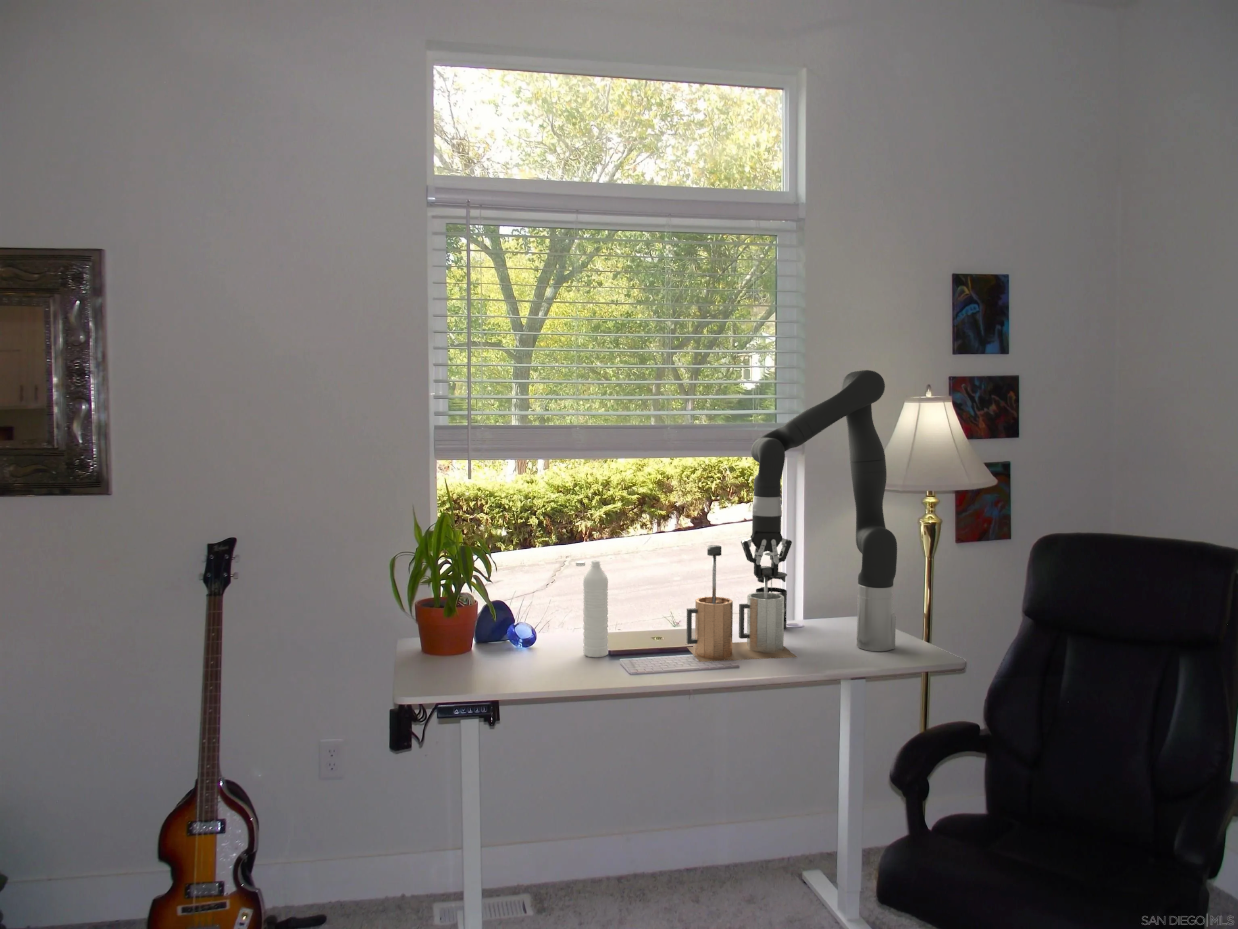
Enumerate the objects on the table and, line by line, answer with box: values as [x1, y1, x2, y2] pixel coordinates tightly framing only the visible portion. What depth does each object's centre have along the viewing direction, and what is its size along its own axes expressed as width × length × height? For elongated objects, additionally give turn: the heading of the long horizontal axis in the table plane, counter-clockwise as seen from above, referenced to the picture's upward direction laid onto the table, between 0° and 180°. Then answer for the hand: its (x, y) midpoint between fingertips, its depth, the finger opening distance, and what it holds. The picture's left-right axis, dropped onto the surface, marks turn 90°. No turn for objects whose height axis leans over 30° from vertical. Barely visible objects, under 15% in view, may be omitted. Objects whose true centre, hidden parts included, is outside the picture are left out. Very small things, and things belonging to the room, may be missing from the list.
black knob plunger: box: [706, 544, 722, 604], centre depth 226 cm, size 7×7×16 cm
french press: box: [755, 552, 788, 630], centre depth 255 cm, size 12×9×23 cm
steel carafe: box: [738, 592, 785, 653], centre depth 232 cm, size 12×9×14 cm
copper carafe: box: [686, 596, 734, 659], centre depth 226 cm, size 12×9×14 cm
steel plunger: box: [761, 565, 773, 599], centre depth 231 cm, size 7×7×16 cm
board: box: [686, 641, 798, 663], centre depth 230 cm, size 26×16×1 cm, turn 99°
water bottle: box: [575, 560, 609, 658], centre depth 229 cm, size 9×6×25 cm
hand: (765, 577), depth 231 cm, fingers closed on steel plunger, 3 cm apart
